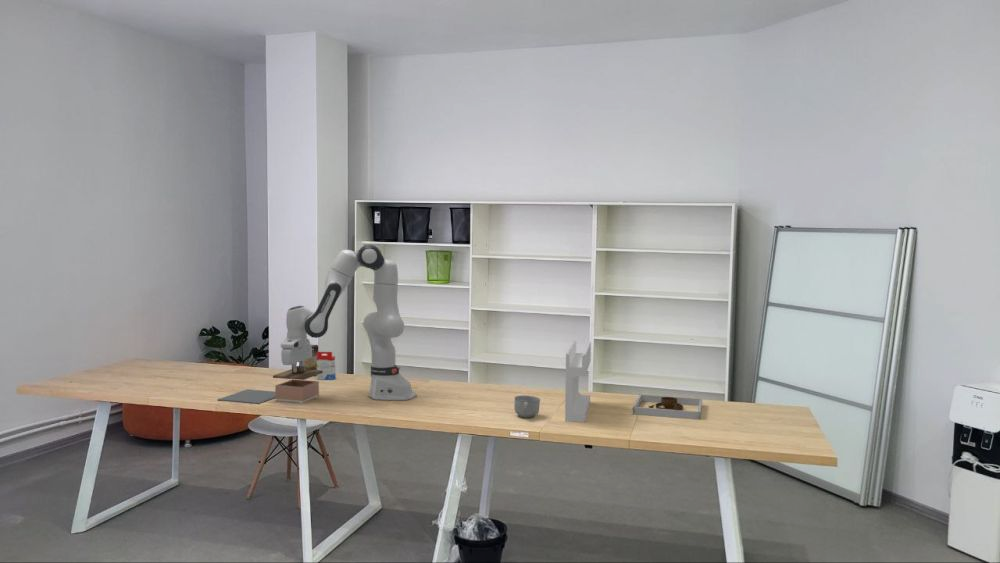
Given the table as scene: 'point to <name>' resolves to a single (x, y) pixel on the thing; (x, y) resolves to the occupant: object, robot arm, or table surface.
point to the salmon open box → (297, 391)
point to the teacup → (526, 406)
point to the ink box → (326, 366)
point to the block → (576, 384)
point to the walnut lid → (298, 374)
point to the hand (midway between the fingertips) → (298, 371)
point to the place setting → (668, 404)
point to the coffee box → (311, 360)
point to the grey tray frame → (667, 412)
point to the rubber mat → (250, 396)
